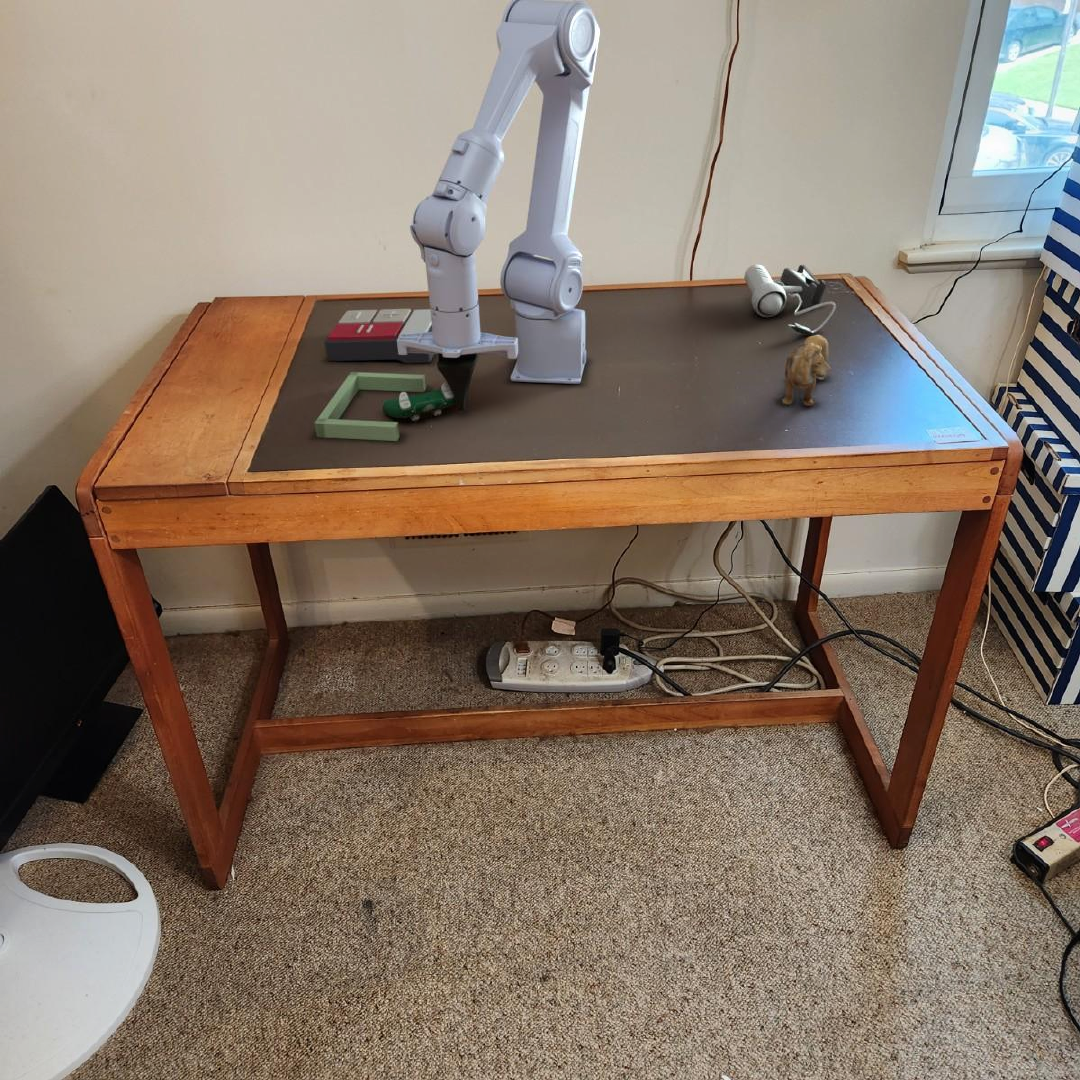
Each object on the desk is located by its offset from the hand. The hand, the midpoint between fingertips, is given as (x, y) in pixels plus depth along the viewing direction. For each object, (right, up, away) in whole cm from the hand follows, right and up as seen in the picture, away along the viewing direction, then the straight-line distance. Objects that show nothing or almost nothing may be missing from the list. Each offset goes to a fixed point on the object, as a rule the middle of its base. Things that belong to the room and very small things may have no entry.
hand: (462, 407), depth 113 cm
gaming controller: (-5, -1, +1) cm, 5 cm away
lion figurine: (+44, +2, +3) cm, 44 cm away
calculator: (-13, +11, +19) cm, 25 cm away
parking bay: (-11, 0, +2) cm, 11 cm away
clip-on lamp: (+48, +18, +25) cm, 57 cm away
